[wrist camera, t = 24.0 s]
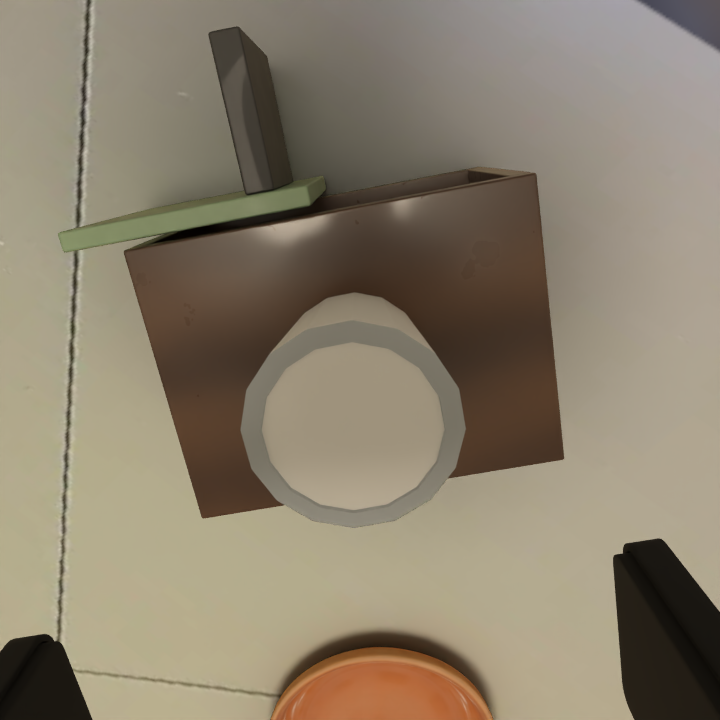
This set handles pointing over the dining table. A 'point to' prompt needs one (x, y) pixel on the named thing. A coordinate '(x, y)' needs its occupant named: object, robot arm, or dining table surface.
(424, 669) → the saucer
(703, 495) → the dining table surface
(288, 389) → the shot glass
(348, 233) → the cupboard
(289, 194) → the sliding door
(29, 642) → the robot arm
